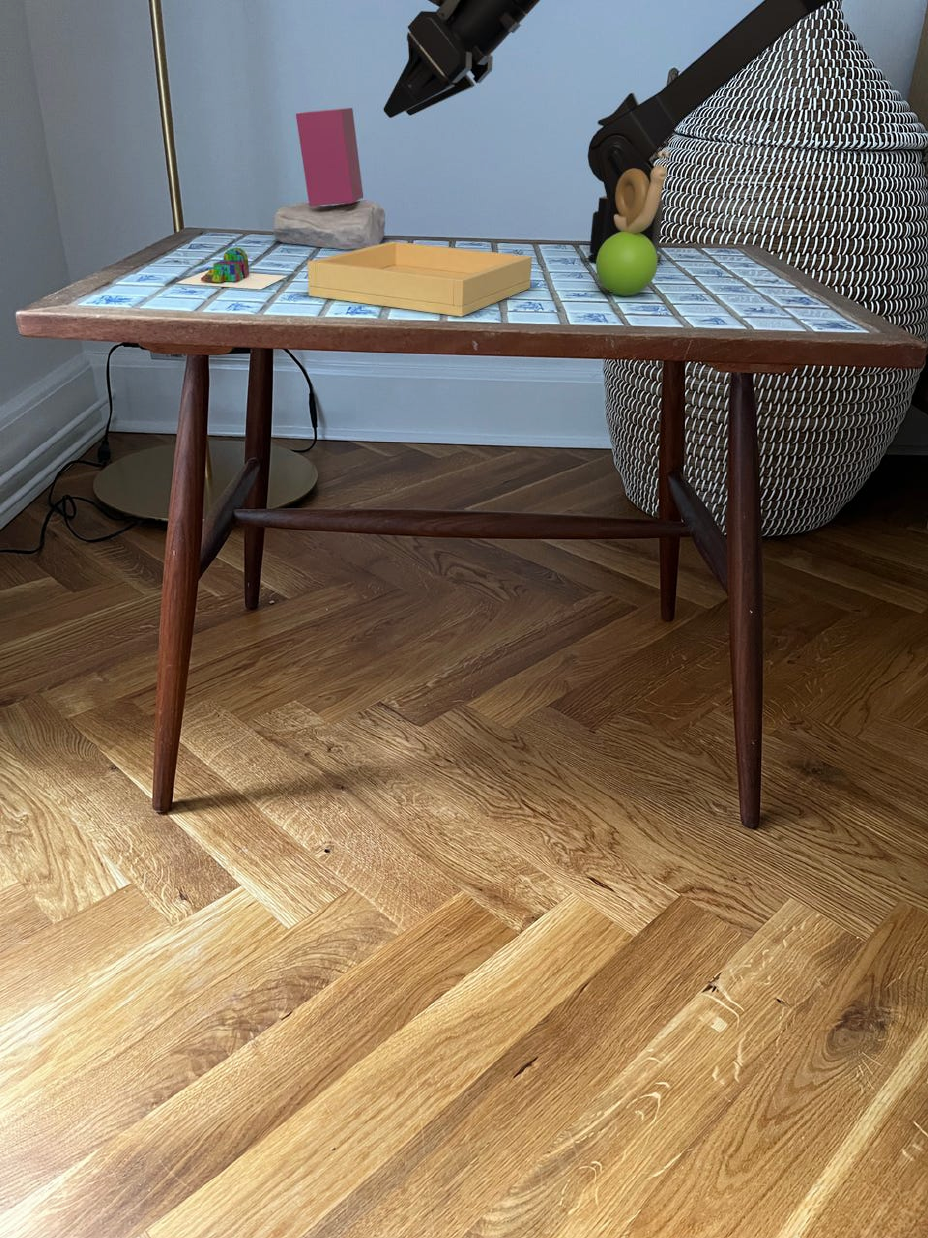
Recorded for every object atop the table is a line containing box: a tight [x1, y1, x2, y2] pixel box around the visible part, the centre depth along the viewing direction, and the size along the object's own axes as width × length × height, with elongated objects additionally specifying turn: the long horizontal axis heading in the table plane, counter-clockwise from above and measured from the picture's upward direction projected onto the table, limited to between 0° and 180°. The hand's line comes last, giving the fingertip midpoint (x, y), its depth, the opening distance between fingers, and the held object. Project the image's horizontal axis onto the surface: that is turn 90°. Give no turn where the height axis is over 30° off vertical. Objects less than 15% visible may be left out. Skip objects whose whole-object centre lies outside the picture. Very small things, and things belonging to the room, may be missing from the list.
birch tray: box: [307, 240, 533, 318], centre depth 84 cm, size 15×15×3 cm
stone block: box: [273, 200, 386, 251], centre depth 107 cm, size 12×5×10 cm
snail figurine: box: [595, 150, 672, 297], centre depth 83 cm, size 5×6×12 cm
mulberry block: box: [295, 107, 364, 206], centre depth 104 cm, size 5×5×9 cm
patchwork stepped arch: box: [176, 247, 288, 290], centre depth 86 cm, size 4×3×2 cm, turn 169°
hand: (396, 112), depth 100 cm, fingers open, 9 cm apart
